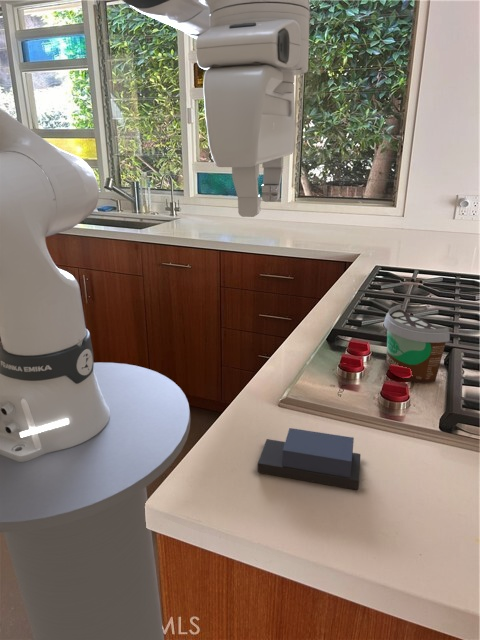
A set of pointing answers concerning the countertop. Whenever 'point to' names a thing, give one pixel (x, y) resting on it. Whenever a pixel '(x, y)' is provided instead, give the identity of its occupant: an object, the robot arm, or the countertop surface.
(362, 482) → the countertop surface
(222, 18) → the robot arm
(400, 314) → the food container
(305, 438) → the stepped blue block
